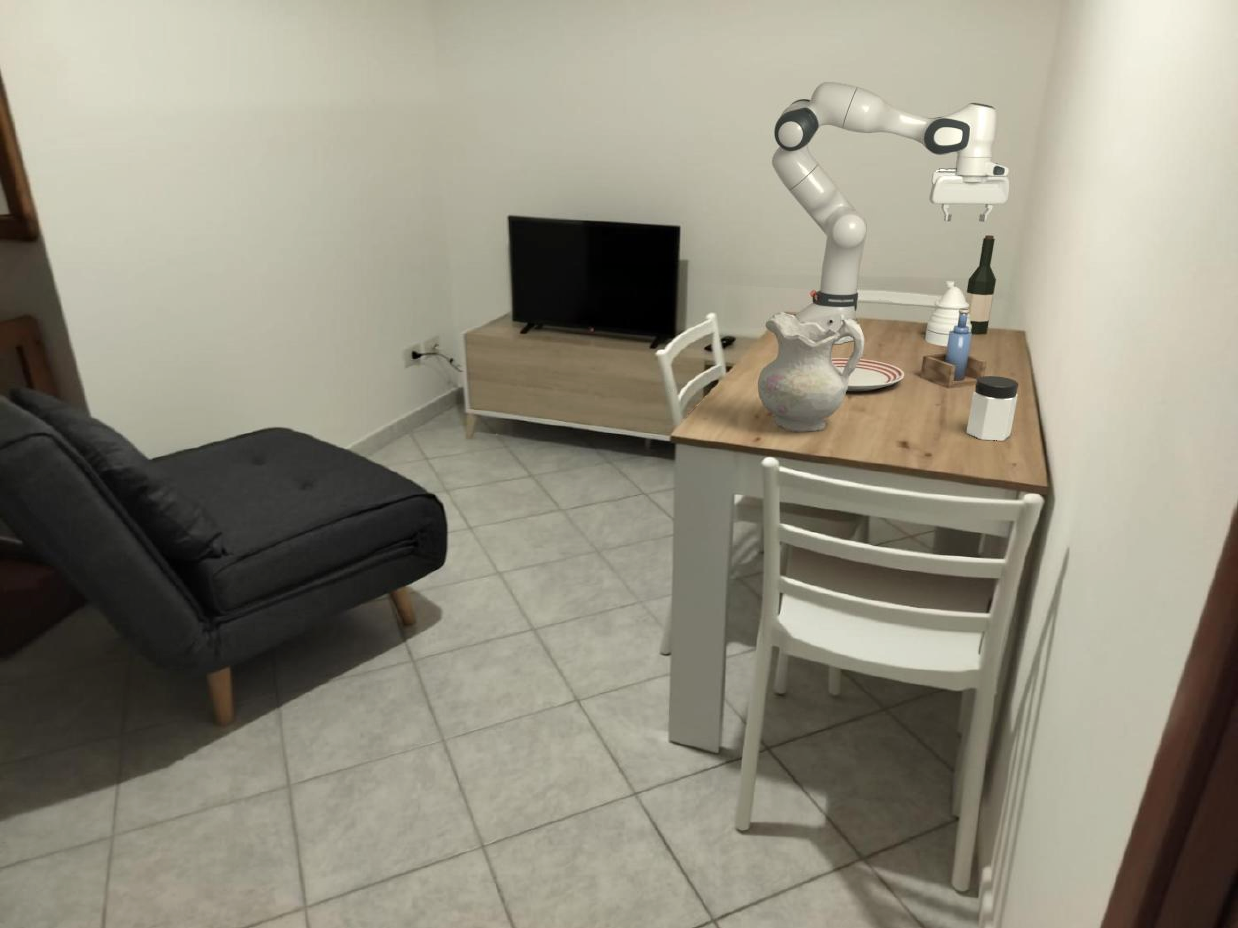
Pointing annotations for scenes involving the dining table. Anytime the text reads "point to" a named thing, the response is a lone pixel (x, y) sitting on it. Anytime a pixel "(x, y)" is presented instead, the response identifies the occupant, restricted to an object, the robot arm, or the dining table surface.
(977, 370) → the holder
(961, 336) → the bottle
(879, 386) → the dinner plate
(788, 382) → the ceramic pitcher
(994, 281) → the wine bottle
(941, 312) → the honey pot
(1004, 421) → the jar
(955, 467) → the dining table surface
